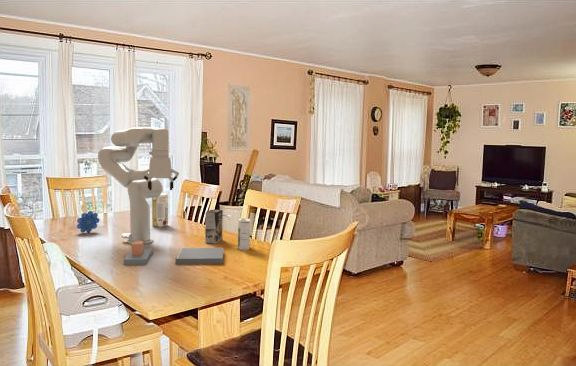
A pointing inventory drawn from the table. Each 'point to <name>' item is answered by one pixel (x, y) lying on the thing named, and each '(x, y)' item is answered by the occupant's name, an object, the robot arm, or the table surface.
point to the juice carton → (160, 210)
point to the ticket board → (199, 256)
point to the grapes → (88, 222)
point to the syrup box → (244, 234)
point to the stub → (138, 254)
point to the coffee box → (213, 226)
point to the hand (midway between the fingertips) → (160, 189)
